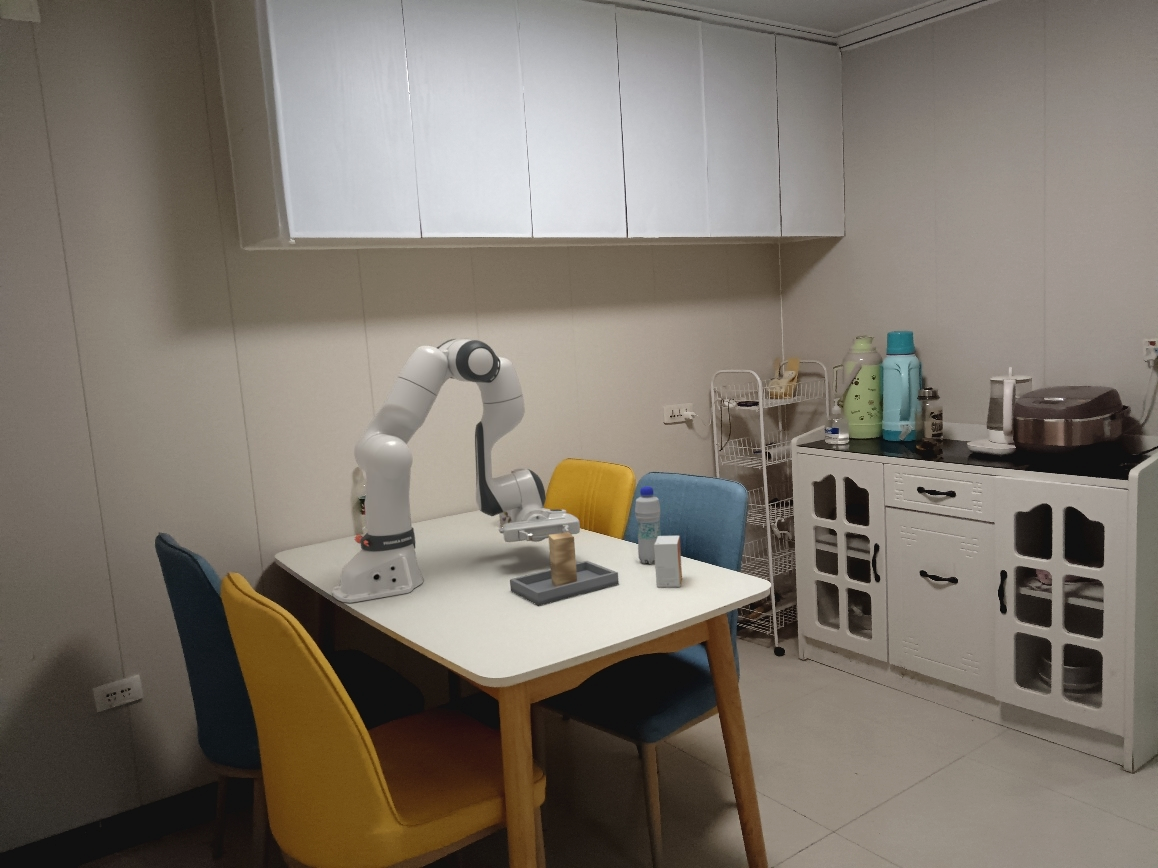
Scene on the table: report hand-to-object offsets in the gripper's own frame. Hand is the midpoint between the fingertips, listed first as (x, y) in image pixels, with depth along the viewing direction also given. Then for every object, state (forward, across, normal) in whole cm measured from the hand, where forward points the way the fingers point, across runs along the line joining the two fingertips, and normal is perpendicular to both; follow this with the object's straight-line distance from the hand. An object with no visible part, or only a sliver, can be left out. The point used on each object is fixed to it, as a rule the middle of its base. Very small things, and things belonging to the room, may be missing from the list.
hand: (548, 535), depth 206 cm
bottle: (+2, +27, +10) cm, 29 cm away
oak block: (+12, 0, +9) cm, 16 cm away
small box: (+20, +24, +10) cm, 33 cm away
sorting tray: (+12, 0, +10) cm, 16 cm away
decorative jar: (-60, +6, +10) cm, 61 cm away
